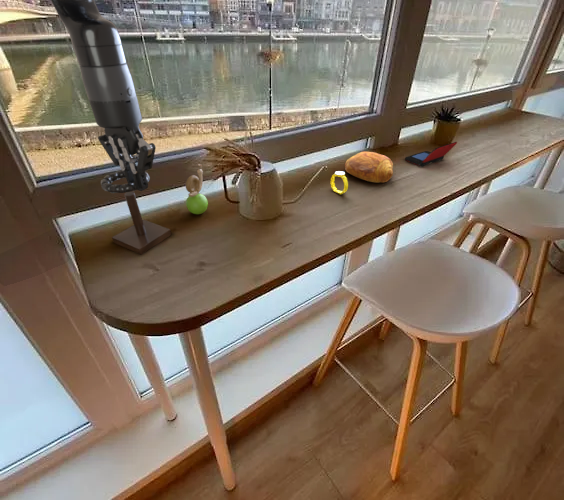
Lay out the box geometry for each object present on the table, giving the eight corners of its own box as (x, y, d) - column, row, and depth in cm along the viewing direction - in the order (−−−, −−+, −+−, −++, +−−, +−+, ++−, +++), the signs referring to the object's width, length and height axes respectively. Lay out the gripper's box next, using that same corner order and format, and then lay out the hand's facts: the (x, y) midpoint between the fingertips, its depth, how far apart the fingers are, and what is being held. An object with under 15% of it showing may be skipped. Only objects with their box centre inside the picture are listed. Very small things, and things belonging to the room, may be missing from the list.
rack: (141, 254, 70) (125, 208, 63) (113, 242, 74) (96, 197, 67) (171, 234, 76) (160, 190, 70) (145, 224, 80) (132, 181, 73)
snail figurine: (215, 208, 86) (209, 165, 79) (201, 220, 82) (193, 175, 75) (198, 204, 88) (191, 162, 81) (183, 215, 84) (174, 171, 76)
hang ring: (122, 198, 62) (120, 190, 61) (92, 188, 66) (89, 180, 65) (159, 180, 68) (157, 173, 67) (130, 172, 72) (128, 165, 71)
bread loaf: (372, 194, 98) (380, 171, 92) (335, 171, 106) (340, 149, 100) (401, 180, 105) (409, 158, 99) (364, 160, 113) (370, 138, 107)
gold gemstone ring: (348, 194, 93) (351, 175, 89) (341, 197, 92) (344, 177, 88) (334, 187, 97) (336, 168, 93) (327, 189, 96) (329, 170, 92)
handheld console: (425, 153, 120) (431, 133, 115) (451, 162, 113) (458, 141, 108) (402, 160, 114) (407, 139, 110) (429, 170, 107) (435, 148, 103)
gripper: (66, 94, 55) (100, 187, 66) (120, 103, 50) (148, 204, 60) (105, 87, 60) (131, 174, 71) (157, 94, 55) (177, 188, 65)
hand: (139, 187), depth 65 cm, fingers closed on hang ring, 1 cm apart
